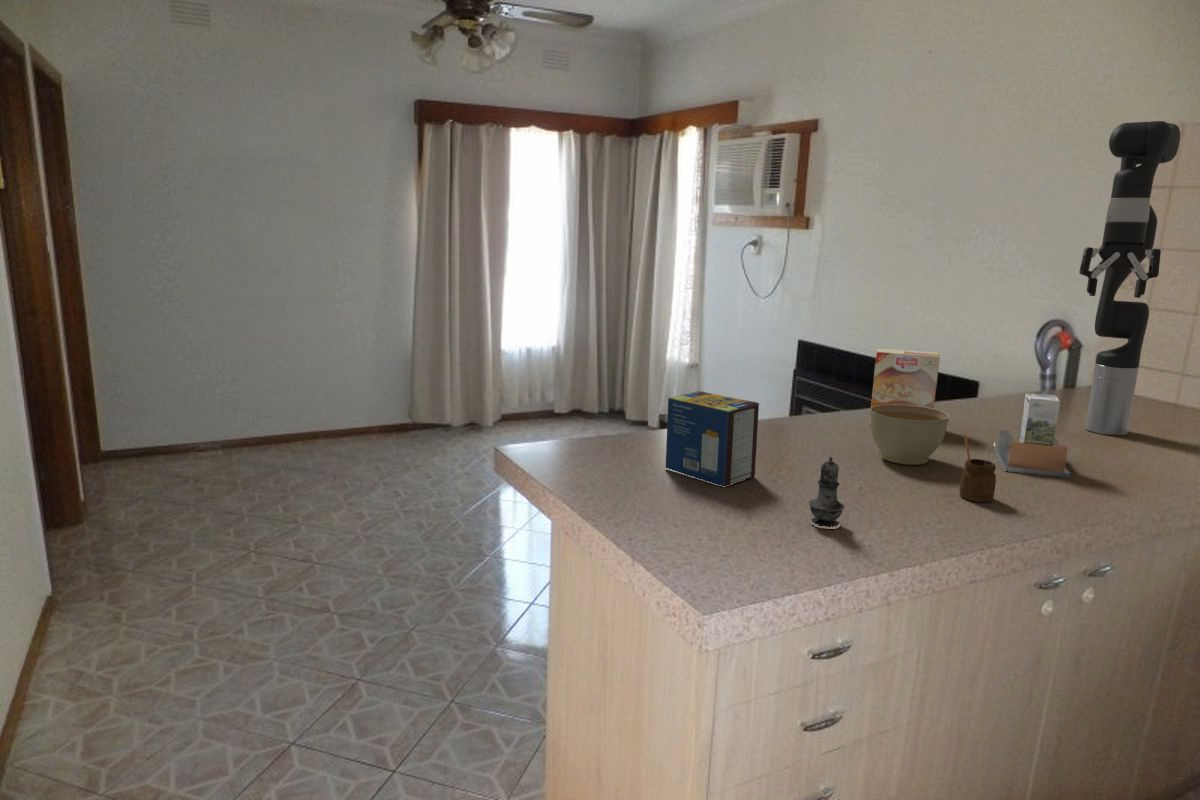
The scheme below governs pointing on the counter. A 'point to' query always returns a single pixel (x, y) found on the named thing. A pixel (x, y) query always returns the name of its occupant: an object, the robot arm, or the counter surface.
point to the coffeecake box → (905, 378)
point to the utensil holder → (978, 478)
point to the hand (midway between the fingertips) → (1114, 296)
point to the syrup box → (1039, 418)
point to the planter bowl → (907, 432)
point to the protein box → (712, 437)
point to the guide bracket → (1032, 456)
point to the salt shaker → (827, 497)
